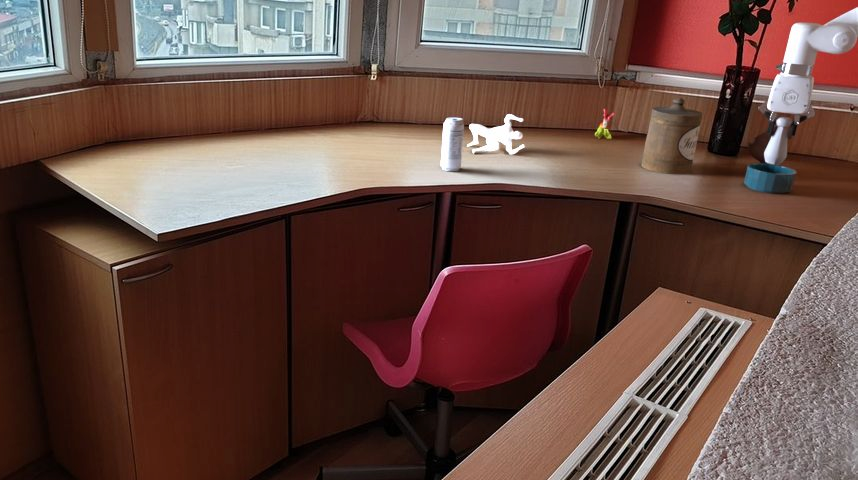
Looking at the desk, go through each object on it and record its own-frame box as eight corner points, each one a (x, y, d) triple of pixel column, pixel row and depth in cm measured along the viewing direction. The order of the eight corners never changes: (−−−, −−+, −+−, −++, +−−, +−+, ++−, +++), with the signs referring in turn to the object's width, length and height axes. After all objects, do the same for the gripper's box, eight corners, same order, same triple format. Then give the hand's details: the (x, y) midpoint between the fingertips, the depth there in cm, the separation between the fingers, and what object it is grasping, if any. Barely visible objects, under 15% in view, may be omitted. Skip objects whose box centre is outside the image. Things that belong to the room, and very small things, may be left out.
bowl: (790, 187, 211) (796, 167, 209) (791, 197, 200) (797, 176, 198) (744, 180, 216) (748, 161, 214) (742, 190, 205) (747, 169, 203)
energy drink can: (454, 166, 217) (458, 116, 212) (464, 171, 212) (468, 120, 207) (436, 167, 215) (440, 117, 209) (446, 172, 210) (449, 121, 204)
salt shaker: (779, 166, 201) (791, 120, 197) (758, 162, 205) (770, 116, 200) (787, 163, 205) (799, 118, 200) (767, 159, 209) (778, 114, 204)
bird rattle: (591, 141, 269) (595, 136, 260) (595, 112, 270) (598, 106, 261) (609, 143, 268) (612, 138, 259) (612, 113, 269) (616, 107, 260)
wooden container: (689, 177, 217) (704, 104, 208) (638, 170, 222) (651, 98, 214) (692, 167, 229) (706, 97, 221) (644, 160, 235) (656, 92, 227)
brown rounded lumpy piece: (752, 169, 230) (763, 122, 225) (787, 177, 222) (799, 129, 216) (734, 173, 224) (745, 125, 219) (769, 181, 216) (782, 132, 210)
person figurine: (467, 119, 230) (523, 112, 229) (463, 121, 243) (516, 113, 242) (471, 160, 232) (527, 152, 231) (468, 159, 245) (520, 152, 244)
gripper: (762, 68, 196) (746, 135, 203) (832, 74, 189) (814, 143, 196) (762, 66, 202) (747, 130, 209) (830, 72, 195) (813, 138, 202)
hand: (780, 136), depth 202 cm, fingers closed on salt shaker, 4 cm apart
